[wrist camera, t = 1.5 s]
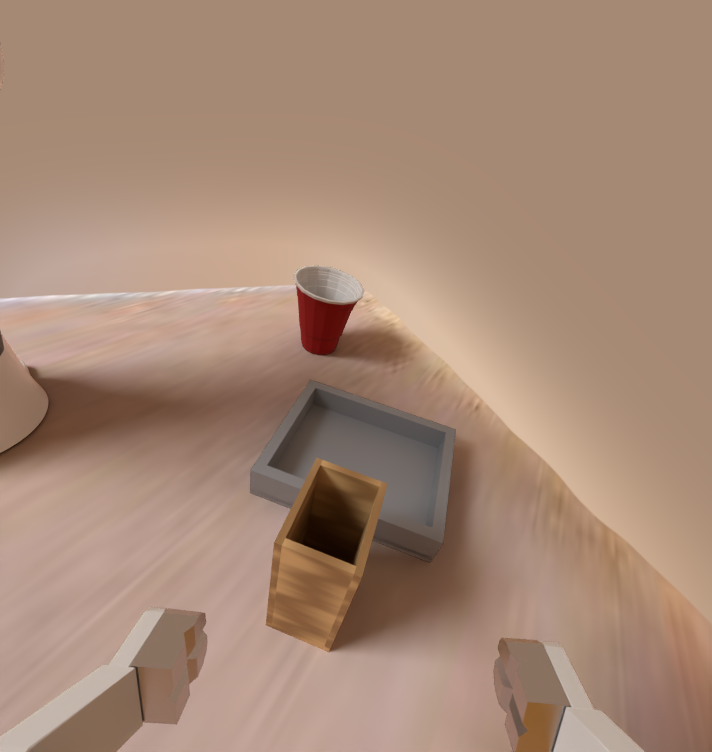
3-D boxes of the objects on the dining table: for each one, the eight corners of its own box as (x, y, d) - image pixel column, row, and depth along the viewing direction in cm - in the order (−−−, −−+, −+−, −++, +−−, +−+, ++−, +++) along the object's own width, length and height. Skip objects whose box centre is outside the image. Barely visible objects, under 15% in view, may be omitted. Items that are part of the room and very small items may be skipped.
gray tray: (250, 492, 40) (250, 470, 38) (307, 401, 53) (310, 379, 50) (430, 562, 38) (443, 543, 36) (445, 449, 50) (455, 429, 48)
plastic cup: (337, 373, 59) (350, 306, 51) (275, 350, 60) (280, 281, 53) (360, 341, 67) (374, 279, 60) (305, 321, 69) (312, 258, 61)
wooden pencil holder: (265, 625, 31) (274, 542, 23) (299, 547, 37) (316, 457, 28) (328, 651, 31) (361, 577, 22) (353, 569, 36) (387, 483, 27)
